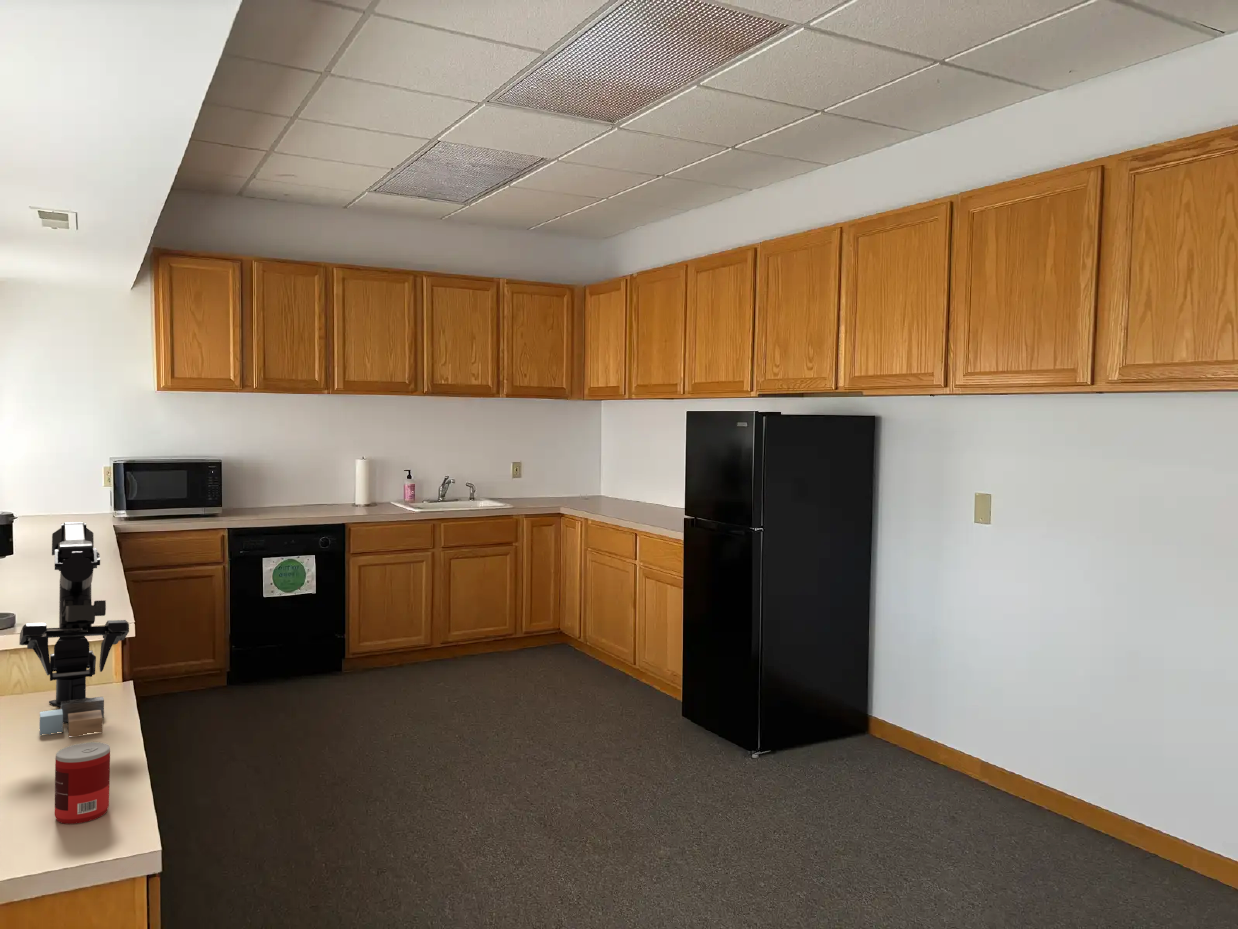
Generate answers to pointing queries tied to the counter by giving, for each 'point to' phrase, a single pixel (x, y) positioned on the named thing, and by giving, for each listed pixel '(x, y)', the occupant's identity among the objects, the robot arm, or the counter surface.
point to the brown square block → (84, 722)
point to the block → (51, 721)
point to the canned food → (82, 782)
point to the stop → (82, 706)
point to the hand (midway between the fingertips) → (75, 673)
